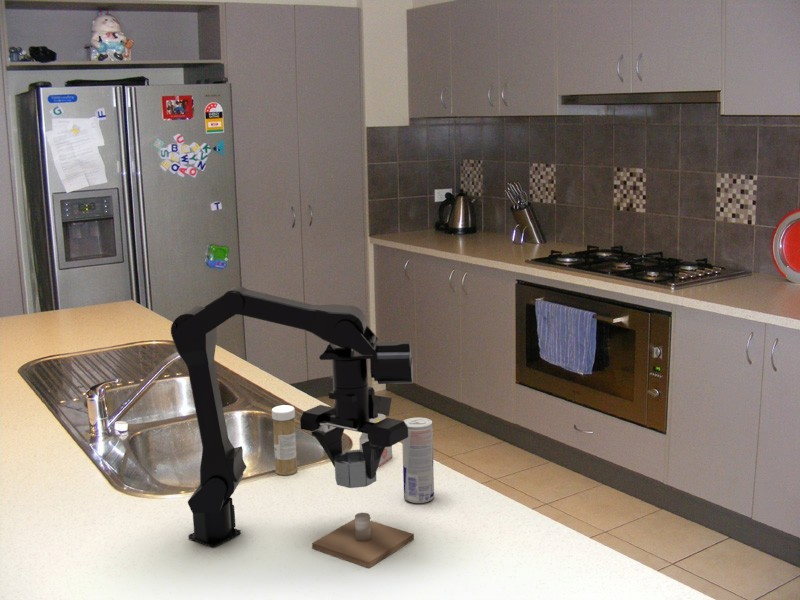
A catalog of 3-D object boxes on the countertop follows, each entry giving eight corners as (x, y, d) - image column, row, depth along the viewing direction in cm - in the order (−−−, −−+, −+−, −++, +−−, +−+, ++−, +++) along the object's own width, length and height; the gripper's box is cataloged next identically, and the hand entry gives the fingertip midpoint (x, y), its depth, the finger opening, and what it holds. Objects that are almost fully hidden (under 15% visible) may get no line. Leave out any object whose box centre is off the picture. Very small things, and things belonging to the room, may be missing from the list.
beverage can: (440, 497, 170) (438, 420, 167) (420, 507, 166) (418, 428, 163) (417, 490, 173) (416, 414, 170) (397, 499, 169) (395, 422, 166)
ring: (359, 490, 148) (358, 467, 147) (328, 482, 152) (326, 459, 151) (383, 476, 153) (382, 454, 153) (352, 469, 157) (351, 447, 156)
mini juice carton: (360, 466, 186) (358, 419, 184) (376, 455, 192) (375, 409, 190) (376, 469, 184) (374, 422, 182) (392, 458, 190) (390, 412, 188)
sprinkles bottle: (275, 468, 186) (271, 405, 184) (298, 466, 187) (294, 403, 184) (274, 476, 182) (271, 412, 179) (297, 475, 182) (294, 410, 179)
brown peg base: (368, 568, 144) (367, 538, 143) (312, 548, 151) (310, 520, 150) (413, 539, 153) (413, 511, 152) (358, 522, 160) (357, 495, 159)
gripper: (425, 379, 150) (428, 468, 153) (337, 365, 161) (342, 449, 164) (385, 397, 142) (389, 492, 145) (295, 381, 152) (301, 469, 155)
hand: (355, 474), depth 152 cm, fingers closed on ring, 7 cm apart
